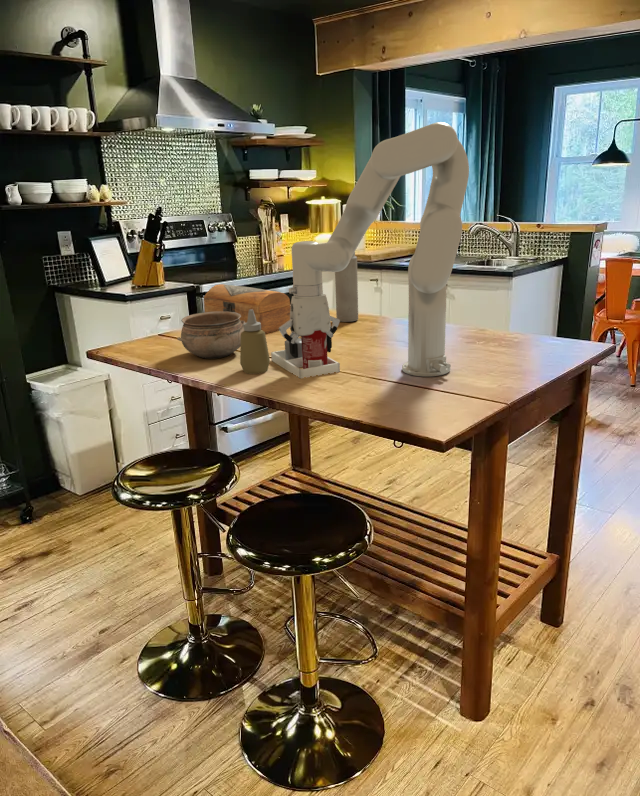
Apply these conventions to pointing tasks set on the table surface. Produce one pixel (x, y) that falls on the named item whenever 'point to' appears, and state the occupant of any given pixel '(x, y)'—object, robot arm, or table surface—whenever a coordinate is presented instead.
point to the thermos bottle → (347, 292)
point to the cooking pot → (212, 334)
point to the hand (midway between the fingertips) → (311, 353)
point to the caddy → (301, 362)
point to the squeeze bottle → (253, 347)
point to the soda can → (314, 349)
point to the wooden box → (250, 304)
